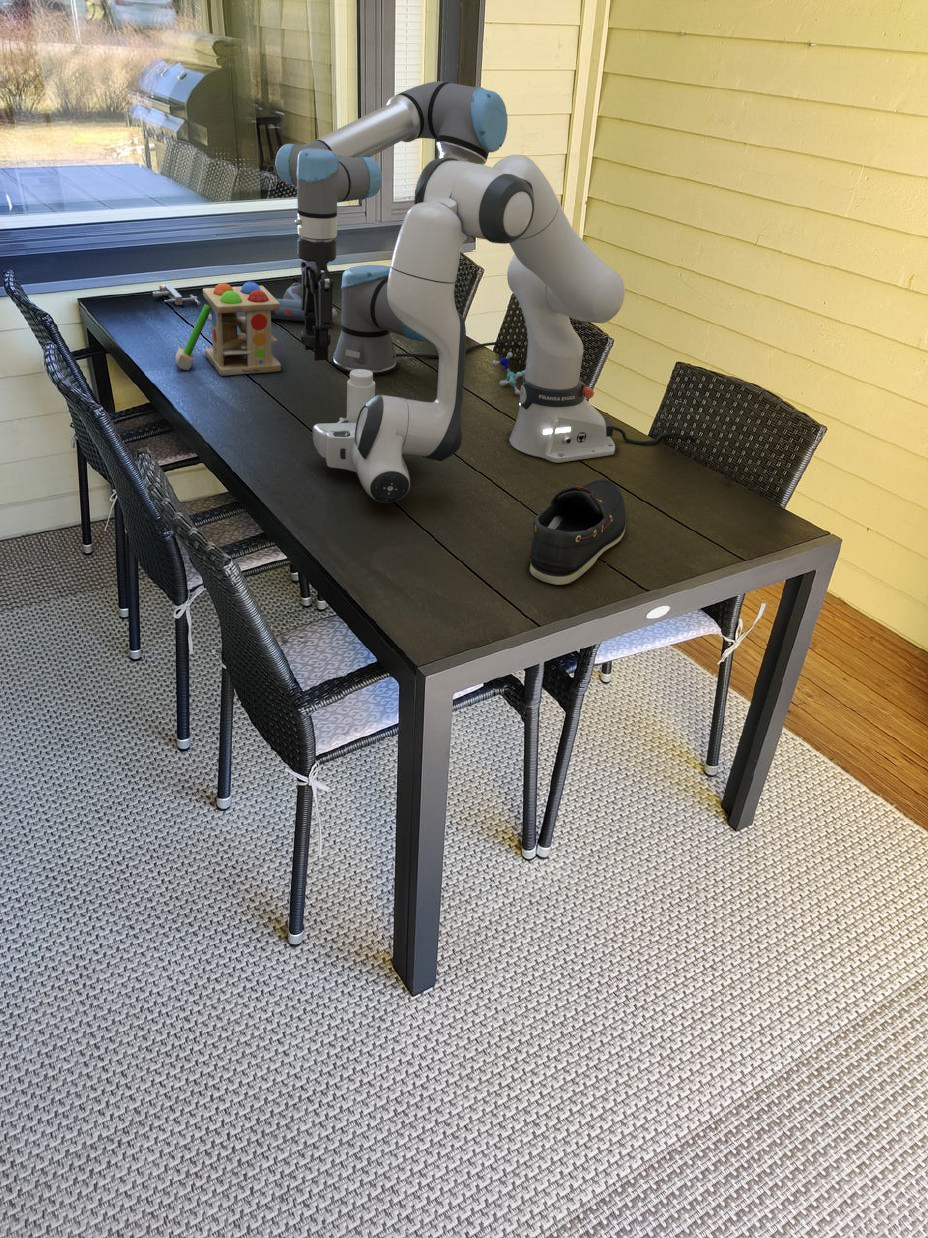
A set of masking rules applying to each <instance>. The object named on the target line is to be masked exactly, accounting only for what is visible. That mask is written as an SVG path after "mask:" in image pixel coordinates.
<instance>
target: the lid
mask: <svg viewBox="0 0 928 1238" xmlns="http://www.w3.org/2000/svg"><path fill="white" fill-rule="evenodd" d="M331 335H332V334H331V332H330V331H329V330H328V347H329V346H331V342H332V341H331V339H332V337H331ZM300 343H301V344H302V345H303V346H304V347H305V346H308V347H314V330H313V328H310V329H305V328H304V329H303V330H301V335H300Z"/></svg>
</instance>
